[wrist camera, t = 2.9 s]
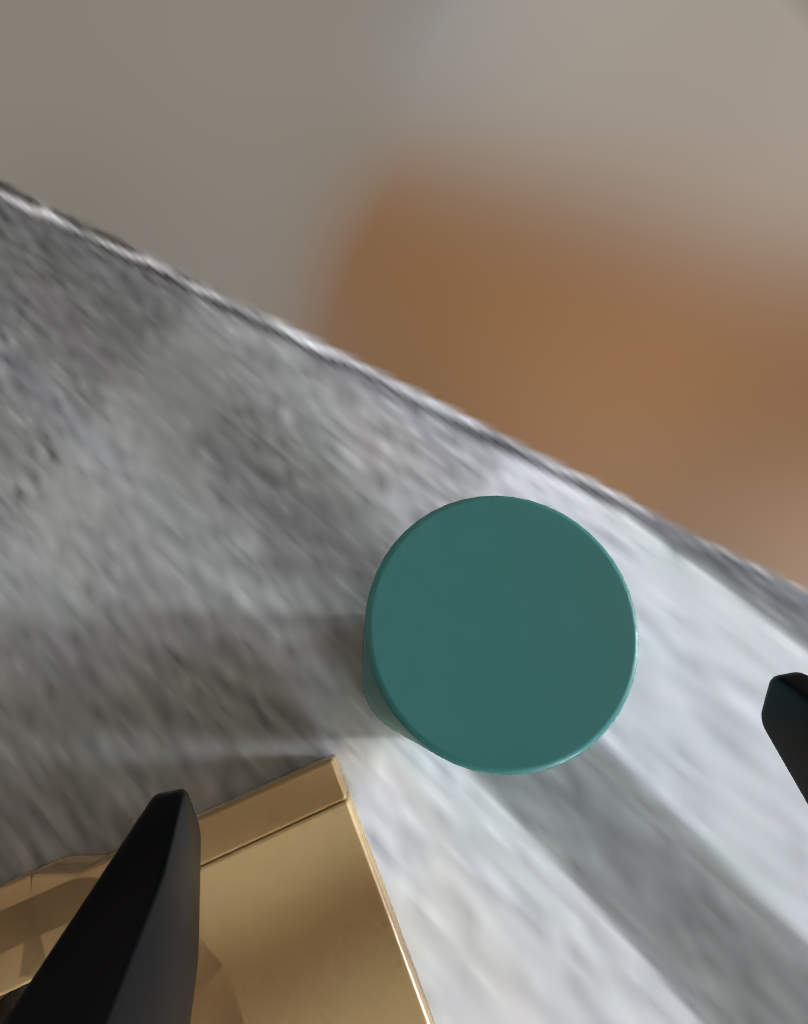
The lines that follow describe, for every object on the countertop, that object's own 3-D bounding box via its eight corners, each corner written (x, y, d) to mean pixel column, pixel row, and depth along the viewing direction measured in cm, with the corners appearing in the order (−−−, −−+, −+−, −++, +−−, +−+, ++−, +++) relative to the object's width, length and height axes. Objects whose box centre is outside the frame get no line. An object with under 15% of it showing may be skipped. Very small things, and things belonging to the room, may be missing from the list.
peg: (500, 707, 18) (691, 702, 8) (389, 757, 18) (433, 827, 7) (451, 596, 19) (564, 457, 9) (343, 641, 18) (323, 550, 8)
